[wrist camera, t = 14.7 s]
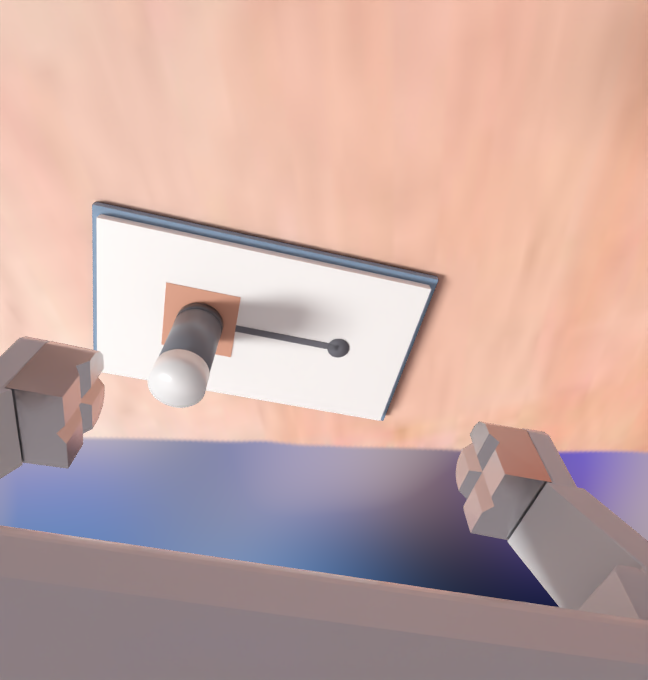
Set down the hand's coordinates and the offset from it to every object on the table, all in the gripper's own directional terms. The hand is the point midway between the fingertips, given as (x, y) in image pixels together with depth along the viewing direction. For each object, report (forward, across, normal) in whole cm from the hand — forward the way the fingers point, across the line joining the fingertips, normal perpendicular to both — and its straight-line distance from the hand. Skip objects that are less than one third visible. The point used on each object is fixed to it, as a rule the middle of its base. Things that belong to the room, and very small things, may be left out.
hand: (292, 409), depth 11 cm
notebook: (+23, +2, +12) cm, 26 cm away
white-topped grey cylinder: (+22, +6, +12) cm, 25 cm away
